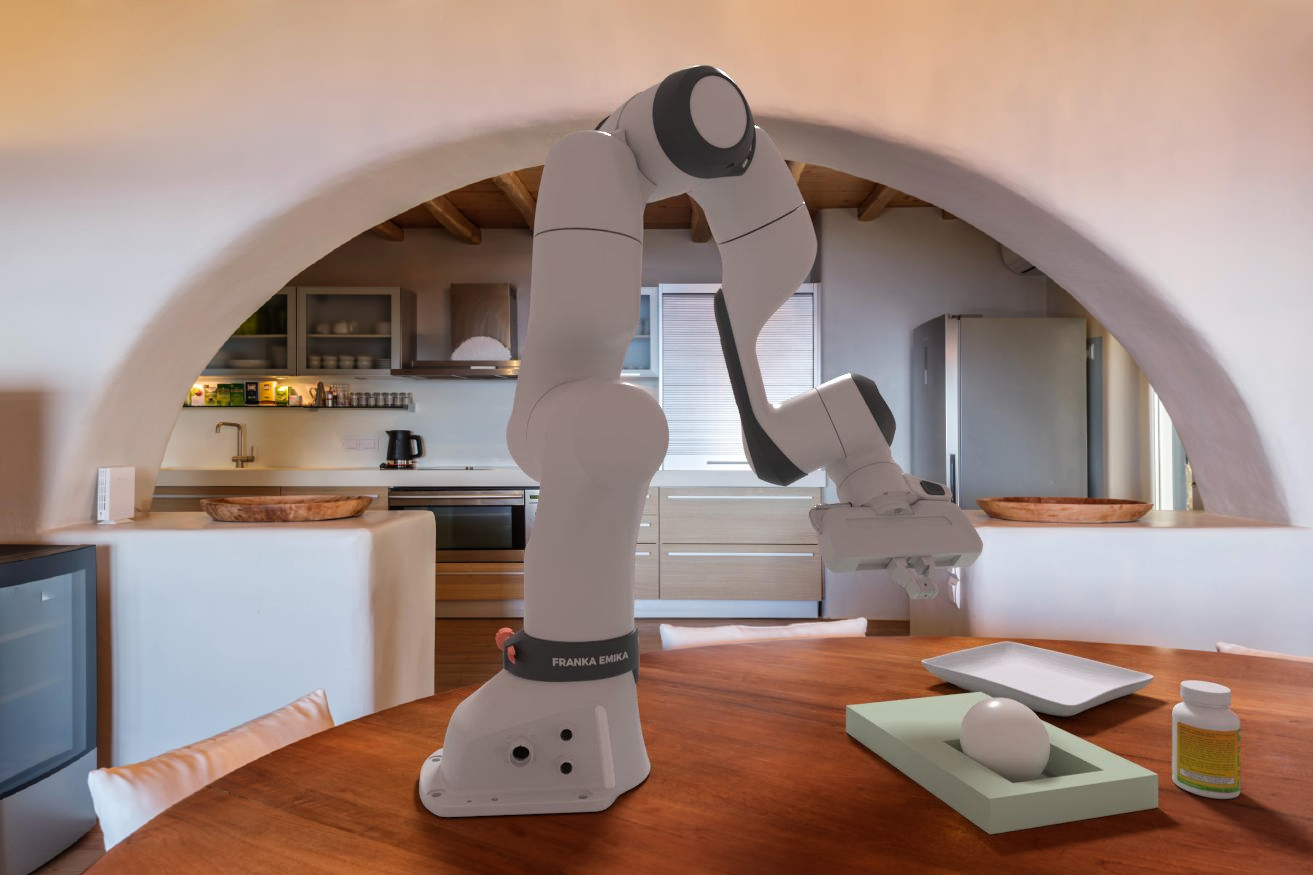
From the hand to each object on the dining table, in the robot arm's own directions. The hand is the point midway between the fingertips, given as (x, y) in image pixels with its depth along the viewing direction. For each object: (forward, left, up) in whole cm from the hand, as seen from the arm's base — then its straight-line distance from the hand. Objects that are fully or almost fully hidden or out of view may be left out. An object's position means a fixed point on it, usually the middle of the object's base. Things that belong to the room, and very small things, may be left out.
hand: (925, 595), depth 90 cm
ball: (-1, -14, -11) cm, 18 cm away
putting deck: (0, -10, -15) cm, 18 cm away
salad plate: (+23, +9, -16) cm, 29 cm away
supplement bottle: (+17, -20, -16) cm, 30 cm away
